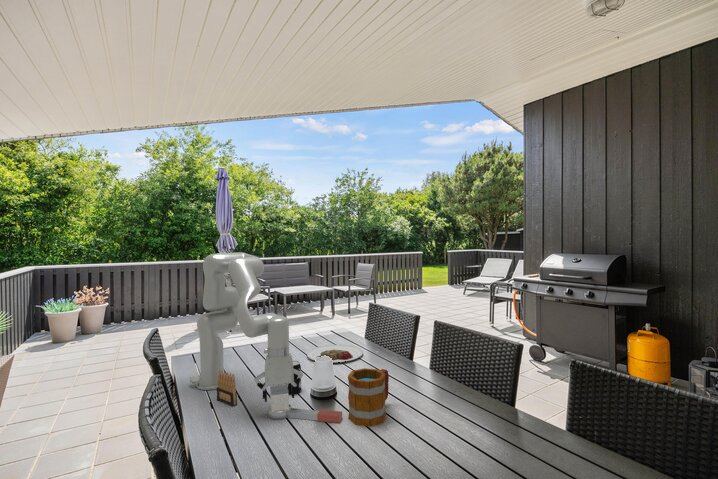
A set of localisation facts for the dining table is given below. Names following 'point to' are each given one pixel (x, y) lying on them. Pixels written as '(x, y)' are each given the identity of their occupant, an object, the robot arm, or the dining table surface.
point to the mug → (368, 396)
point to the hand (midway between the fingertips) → (279, 398)
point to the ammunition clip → (226, 389)
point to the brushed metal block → (279, 398)
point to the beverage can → (295, 377)
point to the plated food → (336, 352)
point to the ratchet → (307, 415)
